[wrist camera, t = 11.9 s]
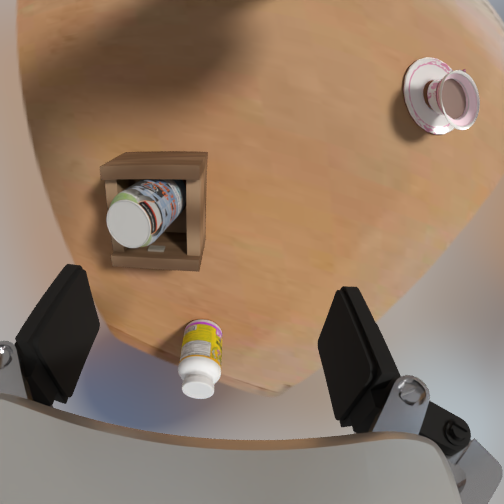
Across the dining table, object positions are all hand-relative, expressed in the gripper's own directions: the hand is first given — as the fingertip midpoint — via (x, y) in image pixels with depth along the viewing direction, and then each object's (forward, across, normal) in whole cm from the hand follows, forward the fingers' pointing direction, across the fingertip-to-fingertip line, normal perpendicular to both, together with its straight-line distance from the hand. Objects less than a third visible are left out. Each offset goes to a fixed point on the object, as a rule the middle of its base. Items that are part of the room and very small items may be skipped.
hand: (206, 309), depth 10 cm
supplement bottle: (+28, +2, +31) cm, 41 cm away
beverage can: (+28, +8, +5) cm, 29 cm away
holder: (+28, +8, +7) cm, 30 cm away
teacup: (+30, -28, -14) cm, 43 cm away
